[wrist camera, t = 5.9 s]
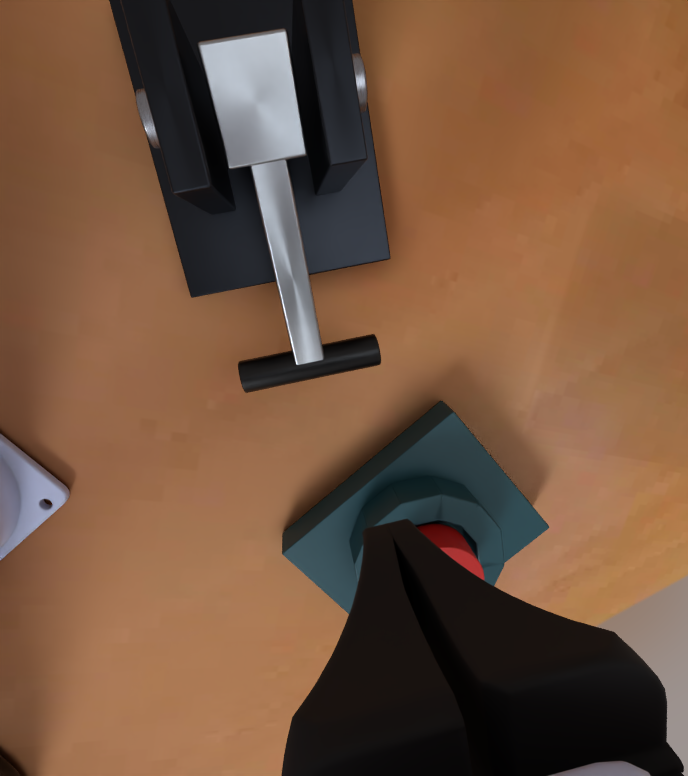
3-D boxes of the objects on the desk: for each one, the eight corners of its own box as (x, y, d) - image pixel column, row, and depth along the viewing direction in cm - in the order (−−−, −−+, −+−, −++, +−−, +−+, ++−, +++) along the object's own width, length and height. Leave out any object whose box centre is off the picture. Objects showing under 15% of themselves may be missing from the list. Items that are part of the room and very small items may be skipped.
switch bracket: (385, 258, 20) (438, 260, 13) (196, 295, 19) (145, 317, 12) (341, -24, 17) (381, -221, 10) (119, 11, 16) (-5, -171, 9)
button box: (384, 626, 25) (399, 683, 22) (282, 533, 23) (281, 580, 19) (532, 509, 24) (572, 550, 21) (441, 399, 22) (469, 425, 18)
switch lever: (372, 348, 19) (386, 378, 17) (246, 374, 19) (245, 408, 17) (334, 27, 13) (349, 17, 11) (149, 56, 13) (131, 52, 11)
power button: (421, 608, 21) (433, 638, 19) (371, 559, 20) (379, 587, 18) (484, 558, 21) (501, 585, 19) (436, 507, 20) (450, 530, 18)
